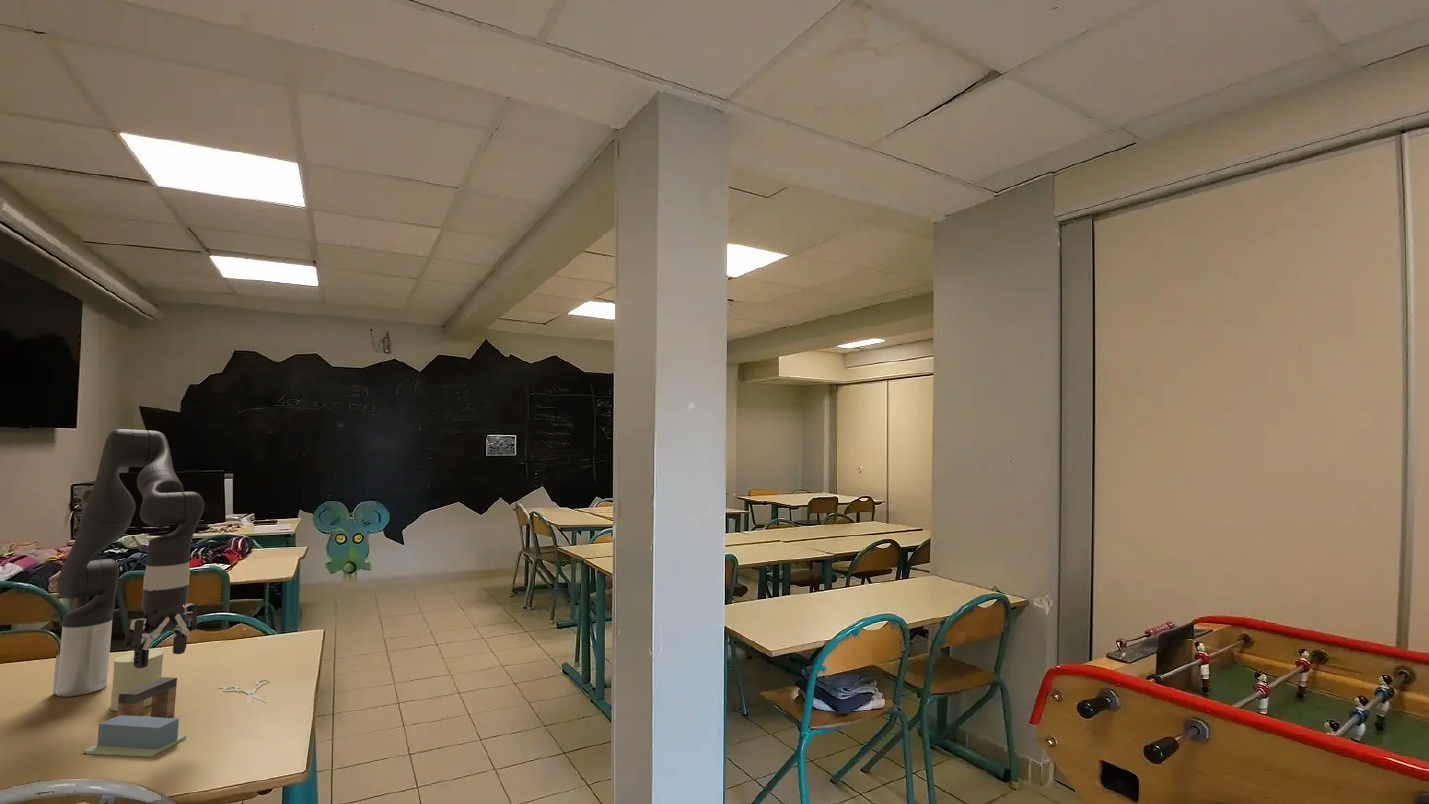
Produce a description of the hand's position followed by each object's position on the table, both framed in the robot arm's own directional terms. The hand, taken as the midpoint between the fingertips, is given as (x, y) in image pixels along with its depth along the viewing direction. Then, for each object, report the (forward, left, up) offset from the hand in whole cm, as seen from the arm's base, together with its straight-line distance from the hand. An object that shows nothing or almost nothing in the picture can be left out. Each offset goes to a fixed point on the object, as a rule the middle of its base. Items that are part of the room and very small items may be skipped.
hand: (160, 660), depth 133 cm
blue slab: (-4, 0, -17) cm, 18 cm away
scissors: (-2, +28, -19) cm, 33 cm away
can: (-25, +20, -18) cm, 36 cm away
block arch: (-12, +10, -18) cm, 24 cm away
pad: (-4, 0, -18) cm, 18 cm away
